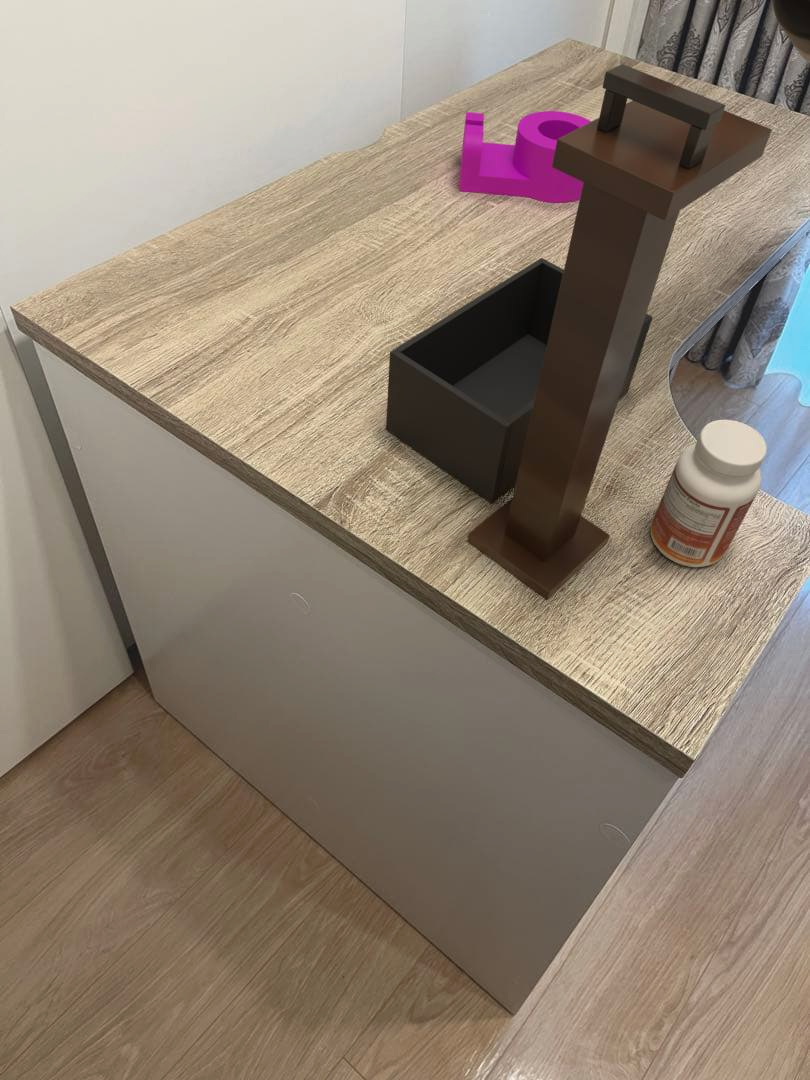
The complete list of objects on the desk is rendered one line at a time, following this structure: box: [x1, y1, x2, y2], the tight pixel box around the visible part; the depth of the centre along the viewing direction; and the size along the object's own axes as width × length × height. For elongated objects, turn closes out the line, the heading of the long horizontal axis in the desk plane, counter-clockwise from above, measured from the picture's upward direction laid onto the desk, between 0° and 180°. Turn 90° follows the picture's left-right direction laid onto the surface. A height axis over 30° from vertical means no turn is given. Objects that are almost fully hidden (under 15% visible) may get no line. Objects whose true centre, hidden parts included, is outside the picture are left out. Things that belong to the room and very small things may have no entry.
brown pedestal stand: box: [467, 63, 773, 600], centre depth 56 cm, size 11×8×35 cm
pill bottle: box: [650, 419, 768, 568], centre depth 65 cm, size 6×6×11 cm
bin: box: [385, 257, 654, 504], centre depth 75 cm, size 20×12×9 cm, turn 137°
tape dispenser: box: [458, 110, 592, 204], centre depth 103 cm, size 16×10×6 cm, turn 86°
